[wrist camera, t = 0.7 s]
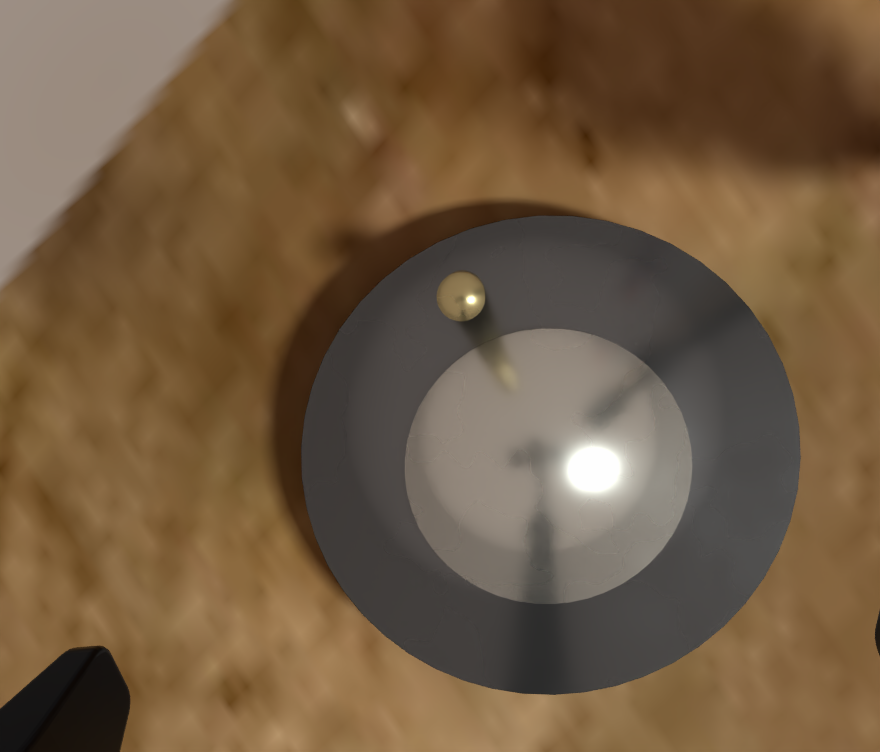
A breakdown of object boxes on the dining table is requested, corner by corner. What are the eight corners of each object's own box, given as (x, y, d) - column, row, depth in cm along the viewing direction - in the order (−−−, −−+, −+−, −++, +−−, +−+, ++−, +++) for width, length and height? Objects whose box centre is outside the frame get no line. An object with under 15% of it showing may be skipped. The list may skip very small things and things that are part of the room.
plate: (853, 566, 22) (915, 619, 19) (434, 735, 24) (427, 810, 21) (669, 130, 20) (705, 107, 17) (229, 346, 22) (187, 362, 19)
